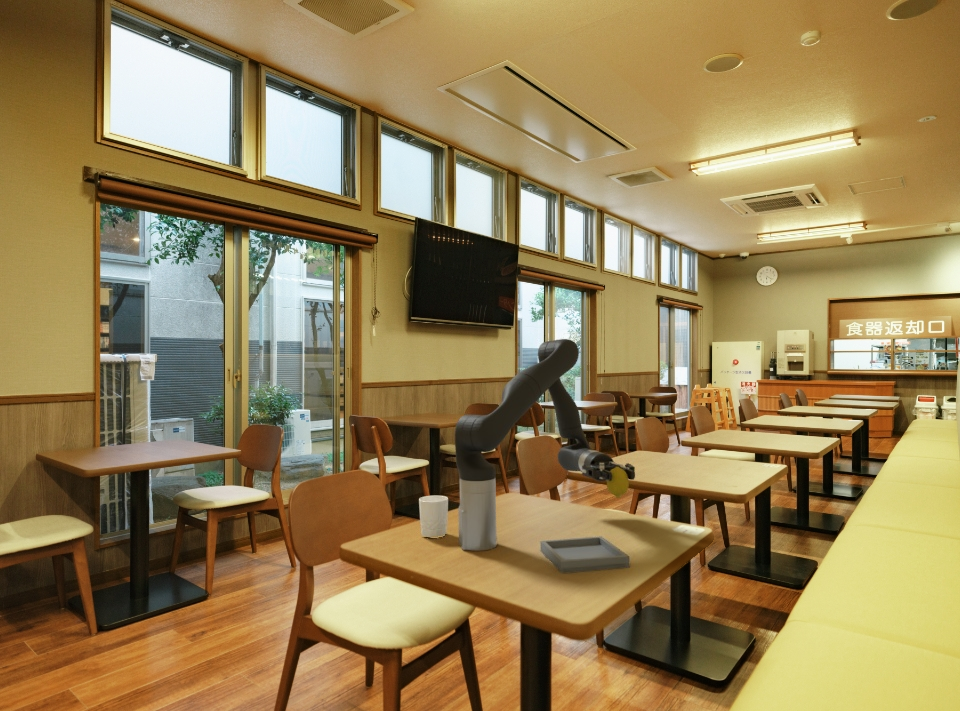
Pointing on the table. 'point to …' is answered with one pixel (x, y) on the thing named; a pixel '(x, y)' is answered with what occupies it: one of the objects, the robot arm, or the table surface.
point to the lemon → (618, 482)
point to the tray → (584, 554)
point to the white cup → (433, 515)
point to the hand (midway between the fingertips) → (621, 476)
